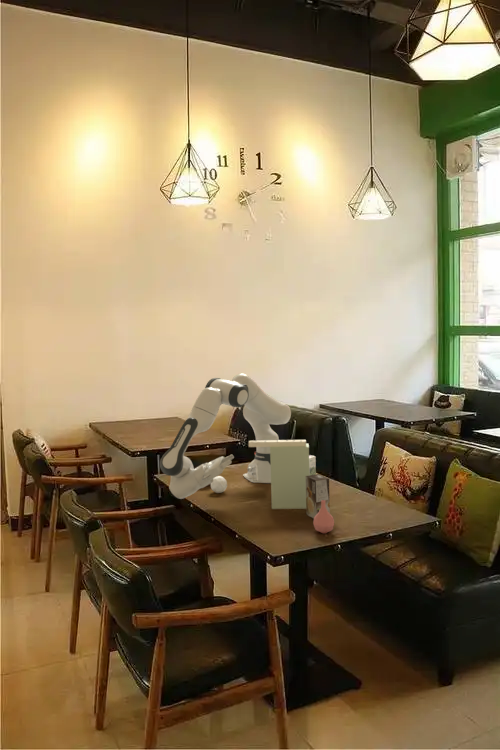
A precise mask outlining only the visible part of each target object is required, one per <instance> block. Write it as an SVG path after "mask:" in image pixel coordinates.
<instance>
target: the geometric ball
mask: <svg viewBox="0 0 500 750" xmlns="http://www.w3.org/2000/svg"><path fill="white" fill-rule="evenodd" d="M209 486H210V488H211V491H213V492H214V493H216V494H221V493H223V492H225V491H226V490H227V487H228V481H227V479H225V477H223V476H222V475H218V476H216V477H215V478H213V482H212V483H210V485H209Z"/></svg>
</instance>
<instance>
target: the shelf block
mask: <svg viewBox="0 0 500 750" xmlns="http://www.w3.org/2000/svg"><path fill="white" fill-rule="evenodd" d="M309 444H310V443H307V442H306V446H290V447H270V460H271V483H270V488H271V489H270V492H271V509H272V510H282V509H284V510H286V509H287V510H289V509H290V510H292V509H293V510H295V509H299V510H301V509H303V510H306V477H305V476H309V455H310V445H309Z"/></svg>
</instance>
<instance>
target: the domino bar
mask: <svg viewBox="0 0 500 750" xmlns="http://www.w3.org/2000/svg"><path fill="white" fill-rule="evenodd" d="M306 443H307V440H306V439H279V440H256V439H255V440H254V439H253V440H248V448H256V447H290V446H306Z"/></svg>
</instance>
